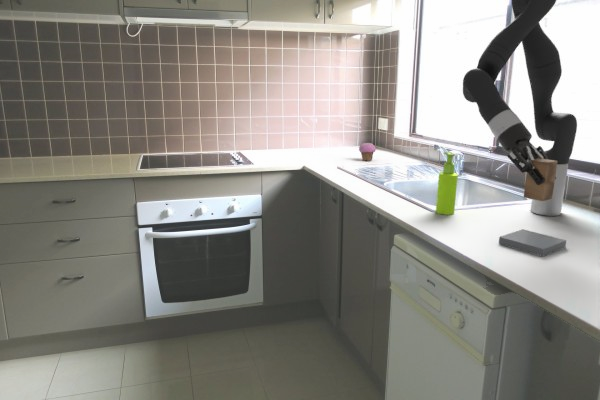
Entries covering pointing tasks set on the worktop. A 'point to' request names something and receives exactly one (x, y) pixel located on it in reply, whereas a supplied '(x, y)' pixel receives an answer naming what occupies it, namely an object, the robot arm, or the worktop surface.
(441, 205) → the soap dispenser
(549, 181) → the walnut block
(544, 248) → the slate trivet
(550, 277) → the worktop surface
